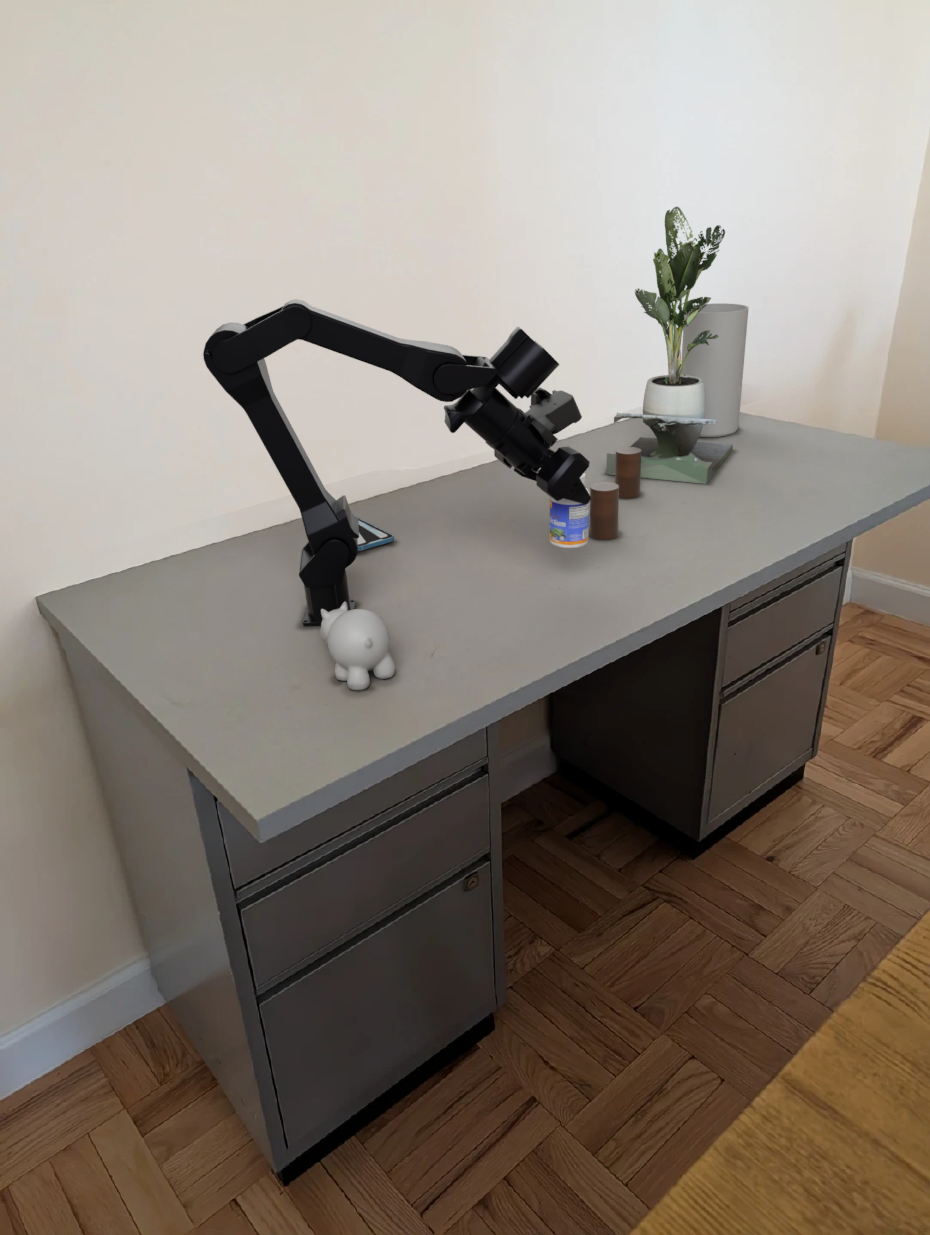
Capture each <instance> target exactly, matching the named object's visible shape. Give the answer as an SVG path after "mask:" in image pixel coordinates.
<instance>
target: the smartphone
mask: <svg viewBox="0 0 930 1235" xmlns="http://www.w3.org/2000/svg"><path fill="white" fill-rule="evenodd" d="M356 517H357V518H358V521H359V538H357V542H358V552H363V551H365V550H368V549H371V548H374V547H375V548H376V547H378V546H382V545H385V544H388V543H392V542H393V541H395V536H394V534H392V533H390V532H388V531H386V530H384V529H382V528H380V527H378V526H377V525H374V524H372V523H370V522H368V521H366V520H364V519H363V518H360V517H358V516H356Z"/></svg>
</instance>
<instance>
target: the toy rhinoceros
mask: <svg viewBox="0 0 930 1235" xmlns="http://www.w3.org/2000/svg"><path fill="white" fill-rule="evenodd" d="M321 615H322V618H323V620H322V623H321V625H320V629H319V631H320V632H319V633H320V636H321V638H322V640H324V641H325V642H326V643H327V648H328V651H329V654H330V656H331V657H332V658H333V660H334V661H335V664H334V675H335V678H336V679H337V681H342V682H346V683H347V687H348V688H349V689H350V690H352V691H363V690H365V689H367V688H368V687H369V686H370V683H371V680H370V675H369V672H373V675H374V676H375V678H377V679H379V680H383V679H389V678H392V677H393V676H394V674H395V673H396V665H395V662H394V660H393V657H392V656H391V654H390V653H389V648H390V645H391V636H390V631H389V627H388V625H387V624H386V622H385V621H384V619H383V618H382V617H381V616H379V615H378V614H377V613H375V612H373V611H371V610H369V609H364V608H355V609H353V610H349V611H348V606H347V603H346V601H345V602H344V603H343V604H342V606H341V607H340V608H339V609H336V610H332V611H330V612H328V611H326V610H324V609H321Z"/></svg>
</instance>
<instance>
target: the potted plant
mask: <svg viewBox="0 0 930 1235" xmlns="http://www.w3.org/2000/svg"><path fill="white" fill-rule="evenodd" d="M685 222H686V224H684V223H685ZM678 224H679V225H678ZM685 225H686V226H688V228H686V227H685ZM721 228H722V225H719V224H718V225H716V226H714V228H713V229H712V226H709V227H707V228H706V229H705V236H704V233H703V231H702V230H701V231H700V232H699V233H698V238H696V237H695V238H694V235H693V230H692V228H691V226H690V224H689V221H688V220H687V217H686V216H685V214H684V212H683V211H682V209H681V207H679V206H675V207H673V208H672V209H671V210H670V209H668V210H666V212H665V215H664V230H665V245H666V253H667V254H665V252H664V249H662V248H658V249H657V251H656V252H653V255H654V256H653V257H652V258H653V259H652V262H653V265H654V269H655V276H656V286H657V289H658V294H657V293H656V292H651V291H648V290H645V289H644V290H643V289H642V288H641V289H640V288H637V289H635V291H634V295H635V297H636V299H637V301H638V302H639V303H640V305H641V306H640V308H642V309H644V311H643V314H646V316H649V317H650V318H652V319H655V320H656V321H657V322H658V324H659V326H661V328H662V331H663V335H664V341H665V344H666V345H665V346H666V354H667V368H668V370H667V371H668V374H665V375H664V374H663V375H656V376H653V377H650V378H648V379H647V381H646V385H645V389H644V395H643V401H642V402H643V403H642V413H630V412H629V413H628V412H616V415H615V416H614V417H613V424H615V423H617V422H619V421H620V420H622V419H627V418H628V419H642V423H643V424H645V425H646V426H647V427H649V429H650V430H651V432H652V433H653V434H654V436H655V438H653V437H644V436H643V437H642V436H641V437H639V438H638V439H637V440H635V441H634V443H632V444H631V445H629V447H636V448H639V449H641V478H643V479H652V480H661V481H662V480H663V481H674V482H683V483H692V484H694V483H695V484H703V485H704V484H705V485H707V484H708V483H709V481H710V480H711V479H712V477H713V476H714V475H715V473H716V472H717V471H718V470H719V469H720V467H721V466H722V465H723V463H724V461H725V460H726V459H727V458H728V457H729V456H730V454H731V453H732V452H733V444H732V443H731V444H730V443H720V442H719V443H718V442H709V441H698V440H699V438H700V437H699V436H700V433H701V430H702V427H703V425H708V424H717V420H713V419H704V417H705V387H704V381H703V379H702V378H700V377H696V376H690V375H685V373H683V374H684V375H681V371H682V368H683V365H684V362H685V360H686V358H687V356H688V354H689V352H690V351H691V349H693V348H694V347H695V346H697V345H698V344H704V343H706V344H707V345H709V344H708V342H707V340H706V339H716V338H718V337H719V336H718V335H715V336H713V337H710V336H712V333H710V335H708V333H709V331H710V330H708V331H703V332H701V333H700V336H699V334H698V335H697V336H698V337H696V338H695V339H694V341H693V342H692V343H690V344H688V346H687V349H688V348H690V349H688V350H687V351H688V352H687V354H686V356H685V358H684V360H683V362H682V363H681V361H682V349H681V348H682V338H683V329H684V327H685V325H687V326H688V325H689V324H690V323H691V322H692V321H693V320H694V319H695V318H696V316H697V314H698V313H699V312H700V311H701V310H702V309H703V307H705V306H707V304H709V302H710V301H711V300H712V297H709V296H704V297H703V296H700V297H696V298H693V299H690V300H689V296H690V292H691V290H692V289H693V288H694V287H695V285H696V282H697V280H698V279H699V277H700V275H701V273H702V272H703V271H706V270H709V269H710V268H711V266H712V264H713V262H714V261H715V259H716V258H717V256H718V255H717V253H719V251H720V249H719V248H720V244H721V243H722V242H723V240H724V238H725V235H726V230H725V229H724V228H722V229H721ZM688 229H689V230H690V231H689V233H687V231H686V230H688ZM679 230H681V231H682V234H683V235H685V236H683V238H685V237H686V239H685V240H683V241H682V240H681V237H679V236H678V234H679ZM683 230H684V231H685V232H684V231H683ZM712 230H713V231H712ZM678 238H679V239H680V240H679V243H678V242H677V239H678ZM690 239H692V240H690ZM698 239H699V240H698ZM694 241H695V242H697V243H695V242H694ZM684 242H685V243H684ZM709 246H710V247H709ZM706 248H708V250H707V251H706ZM703 249H704V250H703ZM704 256H705V257H704ZM657 295H659V296H657ZM684 297H685V299H684V302H683V298H684ZM704 304H706V305H704ZM693 305H694V306H693ZM701 305H702V308H701V307H700V306H701ZM703 305H704V306H703ZM677 309H678V312H677ZM691 309H693V311H692V312H691ZM699 309H700V310H699ZM689 311H690V313H689V316H688V317H687V319H686V320H685V321H684V314H685V315H688V312H689ZM697 312H698V313H697ZM686 313H687V314H686ZM687 326H686V327H687ZM707 332H708V333H707ZM702 334H703V337H702ZM707 335H708V336H707ZM706 336H707V337H706ZM717 336H718V337H717ZM699 337H700V338H701V339H699ZM694 343H695V344H694ZM615 456H616V453H606V472H605V473H606V475H611V476H615Z"/></svg>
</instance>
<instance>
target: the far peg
mask: <svg viewBox="0 0 930 1235" xmlns="http://www.w3.org/2000/svg"><path fill="white" fill-rule="evenodd" d="M615 454H616V456H615V475H614V483H616V484H618V485H619V499H624V500H625V499H626V500H628V499H637V498H638V497H640V495H641V449H639V448H636V447H630V446H622V447H619V448H616V449H615Z"/></svg>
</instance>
